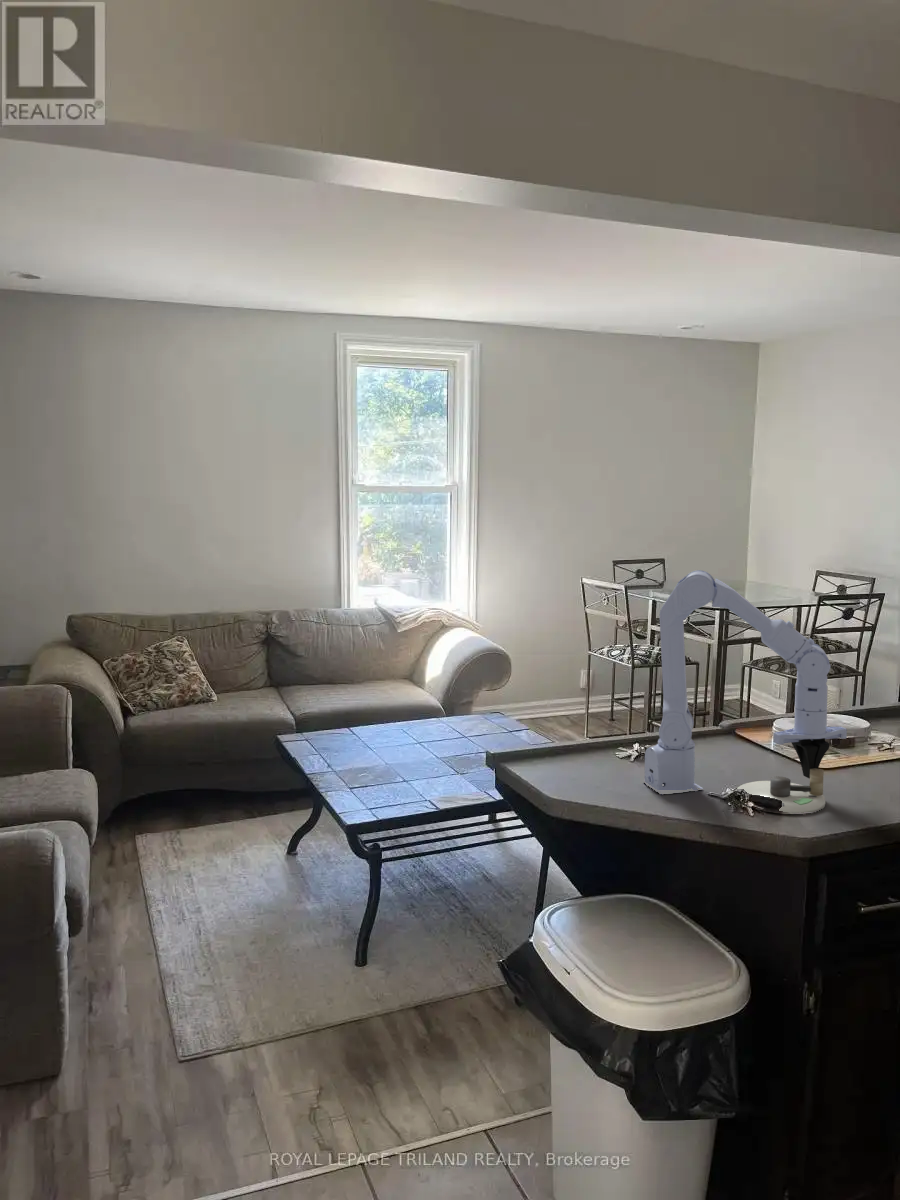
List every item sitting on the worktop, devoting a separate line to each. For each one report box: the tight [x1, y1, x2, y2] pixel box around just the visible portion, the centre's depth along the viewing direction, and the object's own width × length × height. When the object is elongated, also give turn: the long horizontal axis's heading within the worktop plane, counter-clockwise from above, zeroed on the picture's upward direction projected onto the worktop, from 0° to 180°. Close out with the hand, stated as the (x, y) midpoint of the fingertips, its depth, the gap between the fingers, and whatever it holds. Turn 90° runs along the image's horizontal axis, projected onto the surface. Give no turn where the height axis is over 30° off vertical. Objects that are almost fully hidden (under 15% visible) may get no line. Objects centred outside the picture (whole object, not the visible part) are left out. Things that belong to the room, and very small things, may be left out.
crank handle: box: [769, 768, 825, 797], centre depth 165 cm, size 10×4×5 cm, turn 79°
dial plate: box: [736, 780, 826, 813], centre depth 166 cm, size 16×16×1 cm
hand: (809, 776), depth 166 cm, fingers closed, pressing on crank handle
